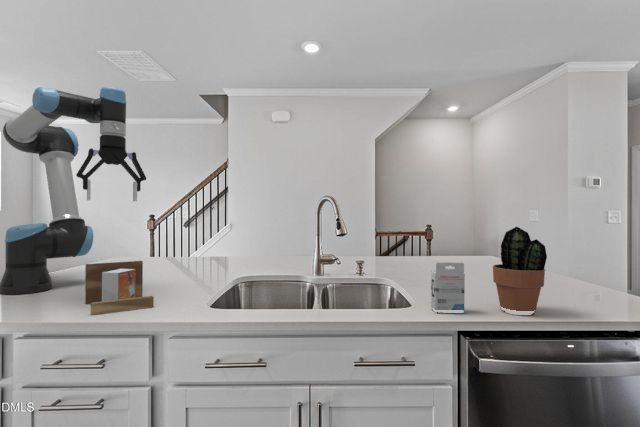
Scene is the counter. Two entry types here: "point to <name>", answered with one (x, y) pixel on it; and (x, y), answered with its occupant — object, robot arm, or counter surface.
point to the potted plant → (520, 271)
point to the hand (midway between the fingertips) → (112, 200)
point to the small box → (118, 284)
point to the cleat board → (100, 307)
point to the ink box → (448, 287)
